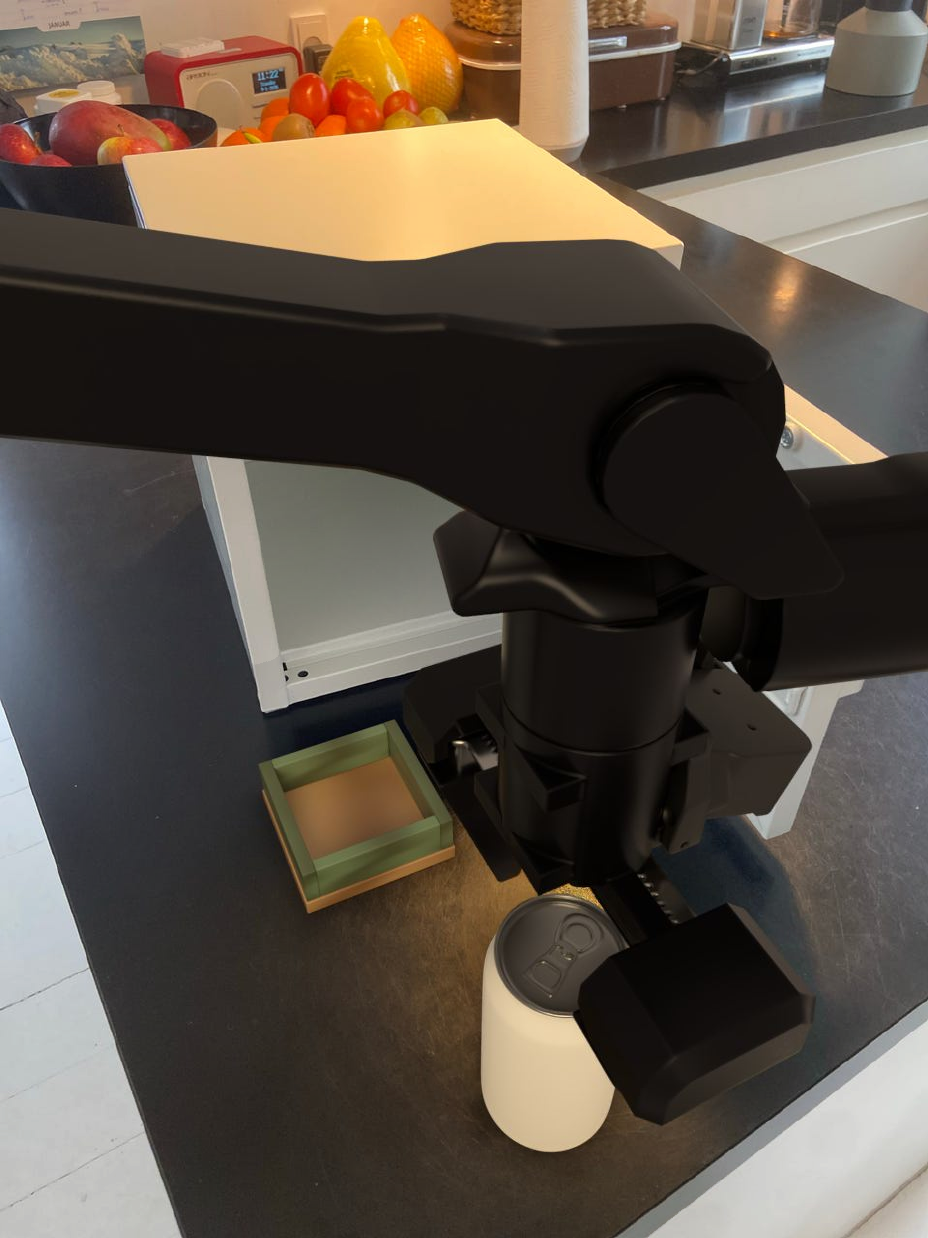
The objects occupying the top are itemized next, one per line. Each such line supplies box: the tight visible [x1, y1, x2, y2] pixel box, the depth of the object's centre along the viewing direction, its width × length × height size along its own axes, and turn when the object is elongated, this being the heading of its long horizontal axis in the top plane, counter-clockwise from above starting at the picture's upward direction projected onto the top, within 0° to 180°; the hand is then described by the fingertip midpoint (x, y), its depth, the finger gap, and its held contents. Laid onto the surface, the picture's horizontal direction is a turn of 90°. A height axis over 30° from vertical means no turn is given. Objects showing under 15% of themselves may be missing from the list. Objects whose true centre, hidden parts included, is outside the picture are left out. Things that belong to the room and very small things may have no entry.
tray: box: [257, 719, 456, 914], centre depth 56 cm, size 9×9×4 cm
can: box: [480, 893, 629, 1153], centre depth 41 cm, size 6×6×12 cm
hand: (558, 961), depth 38 cm, fingers open, 9 cm apart
